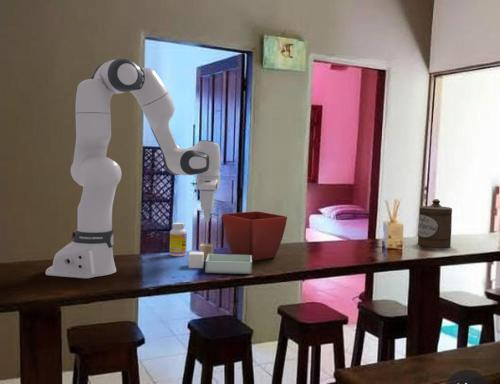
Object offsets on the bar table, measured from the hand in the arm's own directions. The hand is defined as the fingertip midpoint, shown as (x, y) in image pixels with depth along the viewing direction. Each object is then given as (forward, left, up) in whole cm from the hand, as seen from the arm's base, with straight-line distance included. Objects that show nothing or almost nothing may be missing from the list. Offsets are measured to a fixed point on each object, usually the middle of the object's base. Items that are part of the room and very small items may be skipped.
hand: (207, 219), depth 201 cm
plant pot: (+18, +9, -16) cm, 26 cm away
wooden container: (+105, +49, -16) cm, 117 cm away
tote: (+9, -14, -16) cm, 23 cm away
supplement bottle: (-12, +8, -16) cm, 21 cm away
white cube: (-3, -11, -16) cm, 19 cm away
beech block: (0, 0, -16) cm, 16 cm away
